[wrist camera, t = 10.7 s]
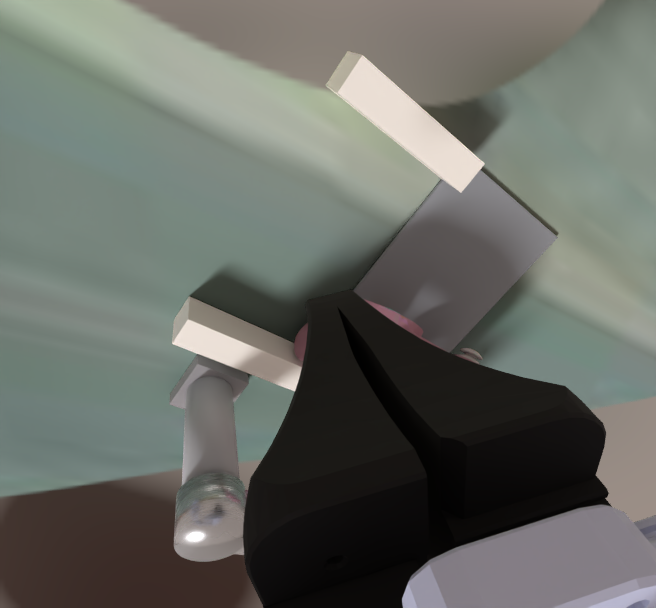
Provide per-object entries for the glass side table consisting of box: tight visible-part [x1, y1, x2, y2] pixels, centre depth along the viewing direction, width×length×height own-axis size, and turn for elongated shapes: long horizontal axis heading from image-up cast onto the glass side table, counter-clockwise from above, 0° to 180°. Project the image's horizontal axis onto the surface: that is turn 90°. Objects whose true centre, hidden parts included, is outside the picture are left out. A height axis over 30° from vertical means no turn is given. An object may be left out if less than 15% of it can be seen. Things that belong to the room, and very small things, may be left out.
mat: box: [353, 170, 558, 353], centre depth 25 cm, size 8×12×1 cm, turn 143°
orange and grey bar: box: [174, 473, 248, 562], centre depth 21 cm, size 13×3×2 cm, turn 56°
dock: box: [169, 51, 484, 485], centre depth 20 cm, size 7×19×7 cm, turn 143°
